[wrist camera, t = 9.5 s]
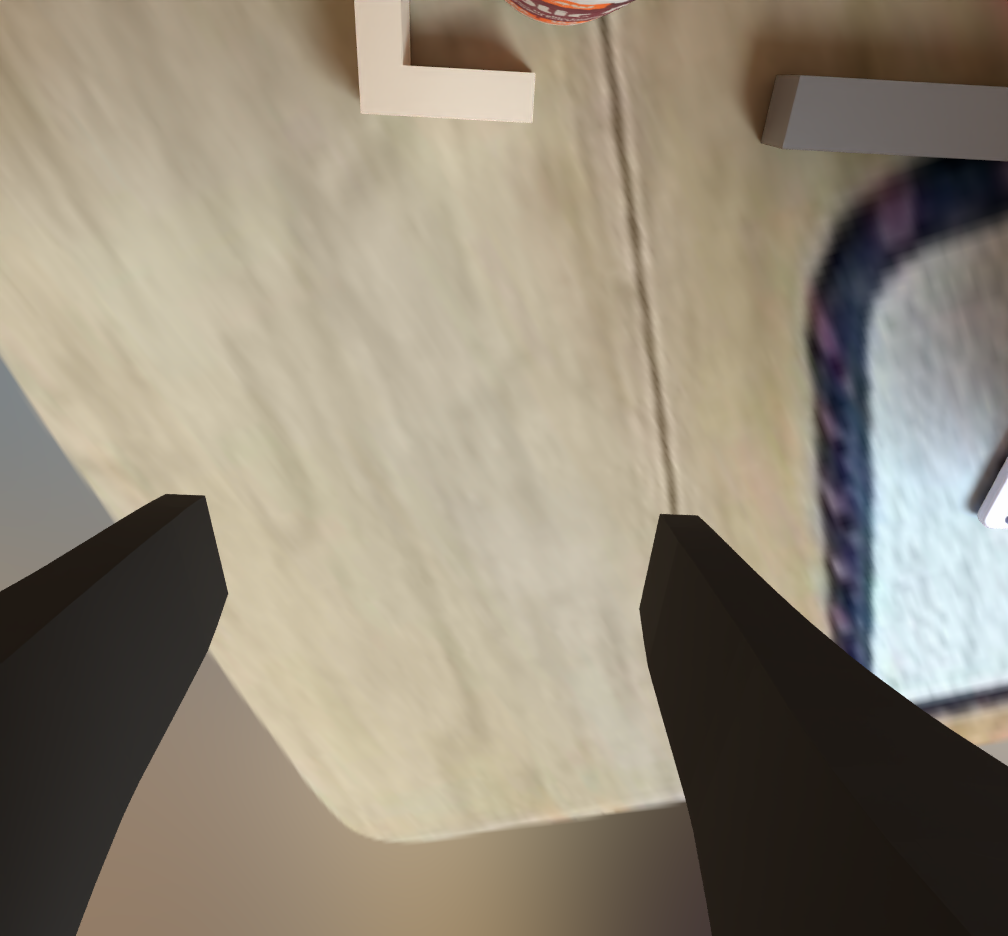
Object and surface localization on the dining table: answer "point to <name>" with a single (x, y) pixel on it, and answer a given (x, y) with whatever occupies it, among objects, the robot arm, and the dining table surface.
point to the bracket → (428, 75)
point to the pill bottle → (566, 10)
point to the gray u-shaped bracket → (888, 117)
